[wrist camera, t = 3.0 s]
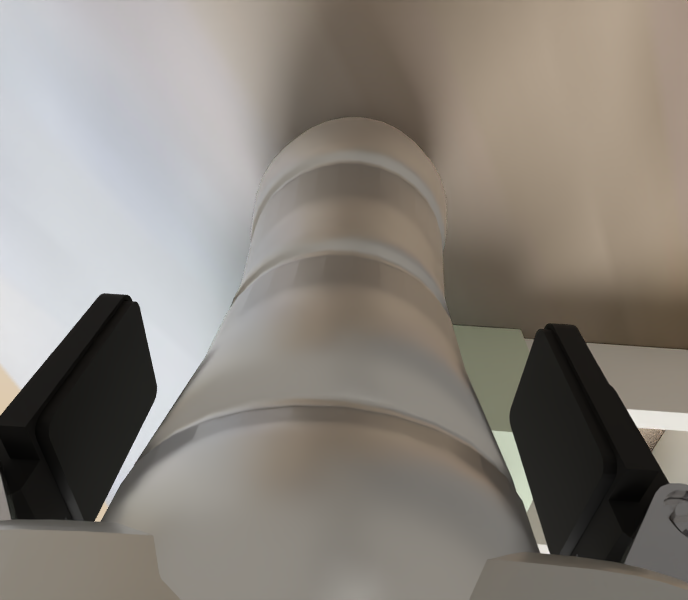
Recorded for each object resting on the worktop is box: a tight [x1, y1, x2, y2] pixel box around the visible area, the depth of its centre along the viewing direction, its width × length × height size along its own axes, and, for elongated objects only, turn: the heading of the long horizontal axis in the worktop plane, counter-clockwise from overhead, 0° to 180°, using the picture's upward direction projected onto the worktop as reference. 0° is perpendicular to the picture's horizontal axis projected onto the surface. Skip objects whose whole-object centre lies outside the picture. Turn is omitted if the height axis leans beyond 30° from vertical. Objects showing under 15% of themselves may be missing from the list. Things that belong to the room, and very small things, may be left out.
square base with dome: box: [453, 325, 688, 554], centre depth 22 cm, size 12×22×9 cm, turn 87°
